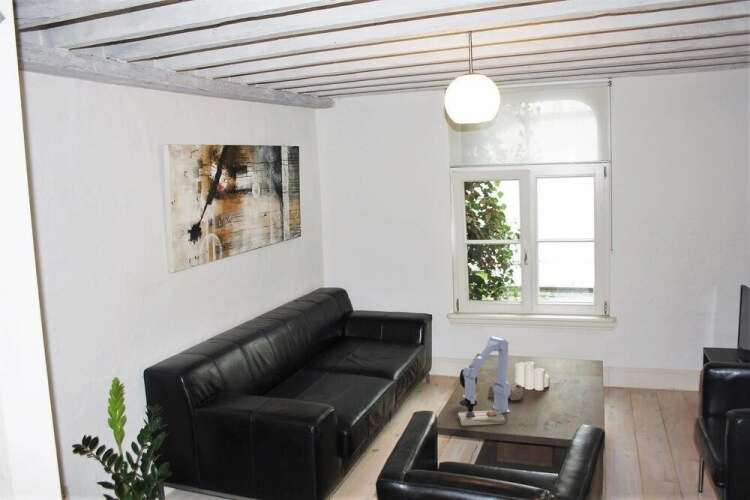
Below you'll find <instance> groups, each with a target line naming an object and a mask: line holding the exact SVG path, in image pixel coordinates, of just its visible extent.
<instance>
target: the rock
mask: <svg viewBox="0 0 750 500" xmlns="http://www.w3.org/2000/svg"><path fill="white" fill-rule="evenodd" d="M509 383H510V389H511V393H510V395H509V396H508V400H511V401H520V400H521V399H522V394H523V393H524V387H523V385H522V384H518V382H509ZM492 387H493V385H490V386H489V388H488V393H487V396H488V397H490V398H494V396H495V395H494V392H493V391H492Z"/></svg>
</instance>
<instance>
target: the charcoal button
mask: <svg viewBox="0 0 750 500" xmlns="http://www.w3.org/2000/svg"><path fill="white" fill-rule="evenodd" d="M473 411H474V410H473ZM473 411H472V412H469V411H468V410H467V411H466V412H467V418H471V417H474V412H473Z"/></svg>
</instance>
